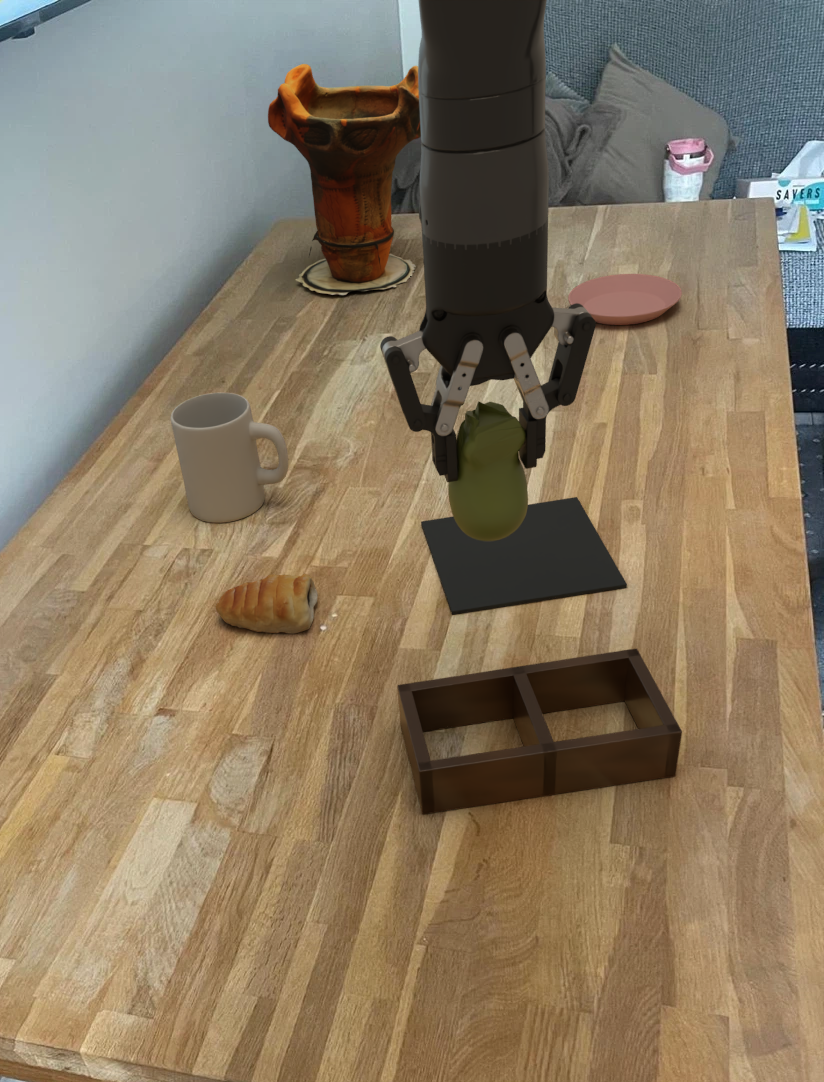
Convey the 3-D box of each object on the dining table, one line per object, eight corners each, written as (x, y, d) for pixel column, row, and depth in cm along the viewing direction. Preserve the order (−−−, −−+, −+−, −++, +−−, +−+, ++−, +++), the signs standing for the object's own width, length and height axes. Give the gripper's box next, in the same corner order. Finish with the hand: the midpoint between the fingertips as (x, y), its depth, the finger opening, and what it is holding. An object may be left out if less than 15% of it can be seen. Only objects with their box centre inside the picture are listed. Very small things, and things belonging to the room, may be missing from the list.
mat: (576, 500, 111) (577, 496, 111) (626, 587, 99) (627, 584, 99) (421, 524, 112) (420, 521, 111) (451, 614, 99) (451, 611, 99)
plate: (544, 312, 147) (545, 298, 146) (621, 280, 152) (622, 265, 151) (625, 340, 137) (626, 325, 136) (704, 304, 142) (706, 289, 141)
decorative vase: (444, 290, 158) (437, 70, 139) (286, 309, 160) (259, 96, 142) (433, 242, 173) (426, 39, 155) (289, 260, 176) (265, 62, 157)
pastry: (214, 639, 101) (206, 605, 99) (225, 597, 106) (218, 564, 104) (314, 635, 100) (309, 600, 97) (320, 592, 105) (315, 559, 102)
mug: (178, 522, 118) (157, 429, 111) (203, 482, 124) (185, 391, 117) (284, 526, 115) (269, 430, 108) (304, 484, 121) (292, 391, 114)
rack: (632, 691, 89) (637, 647, 86) (676, 776, 81) (682, 731, 78) (400, 727, 89) (397, 684, 86) (422, 814, 81) (419, 771, 78)
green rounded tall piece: (505, 507, 83) (503, 382, 76) (542, 539, 79) (544, 410, 72) (439, 529, 82) (431, 405, 75) (473, 563, 78) (468, 435, 71)
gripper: (376, 258, 63) (397, 514, 74) (623, 213, 63) (607, 477, 74) (357, 219, 69) (379, 462, 80) (583, 178, 68) (574, 428, 79)
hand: (489, 468), depth 77 cm, fingers closed on green rounded tall piece, 5 cm apart
